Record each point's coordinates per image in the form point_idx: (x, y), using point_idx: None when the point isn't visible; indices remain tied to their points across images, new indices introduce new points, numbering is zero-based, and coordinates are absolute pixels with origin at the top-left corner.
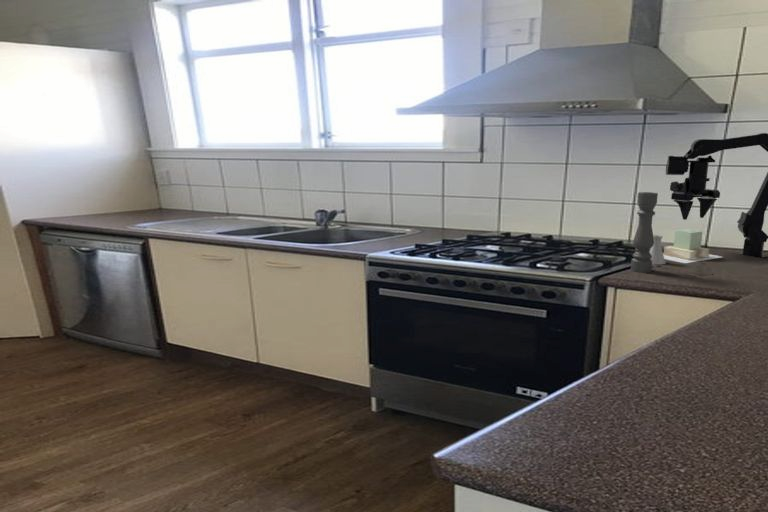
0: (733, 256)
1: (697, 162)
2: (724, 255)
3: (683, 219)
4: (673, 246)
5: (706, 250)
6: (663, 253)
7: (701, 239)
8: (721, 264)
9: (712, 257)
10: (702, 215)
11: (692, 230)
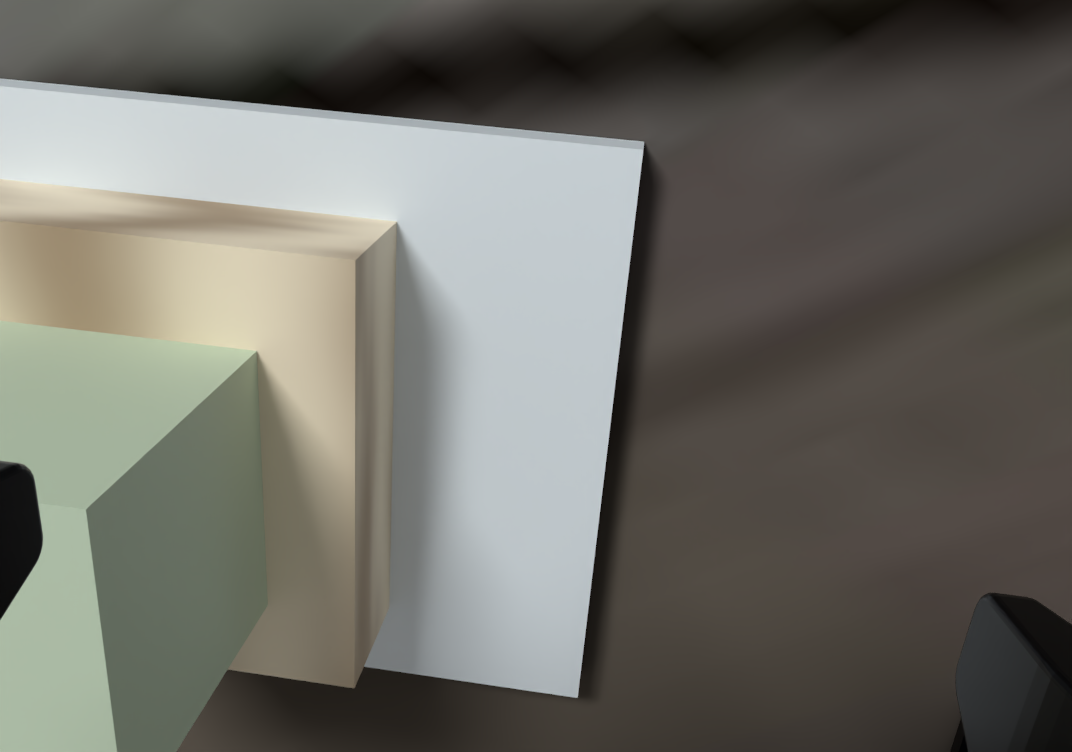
0: (913, 663)
1: None
2: (891, 573)
3: (4, 466)
4: (15, 280)
5: (288, 667)
6: (38, 101)
7: (196, 707)
8: (323, 747)
9: (423, 636)
10: (989, 731)
11: (42, 672)
